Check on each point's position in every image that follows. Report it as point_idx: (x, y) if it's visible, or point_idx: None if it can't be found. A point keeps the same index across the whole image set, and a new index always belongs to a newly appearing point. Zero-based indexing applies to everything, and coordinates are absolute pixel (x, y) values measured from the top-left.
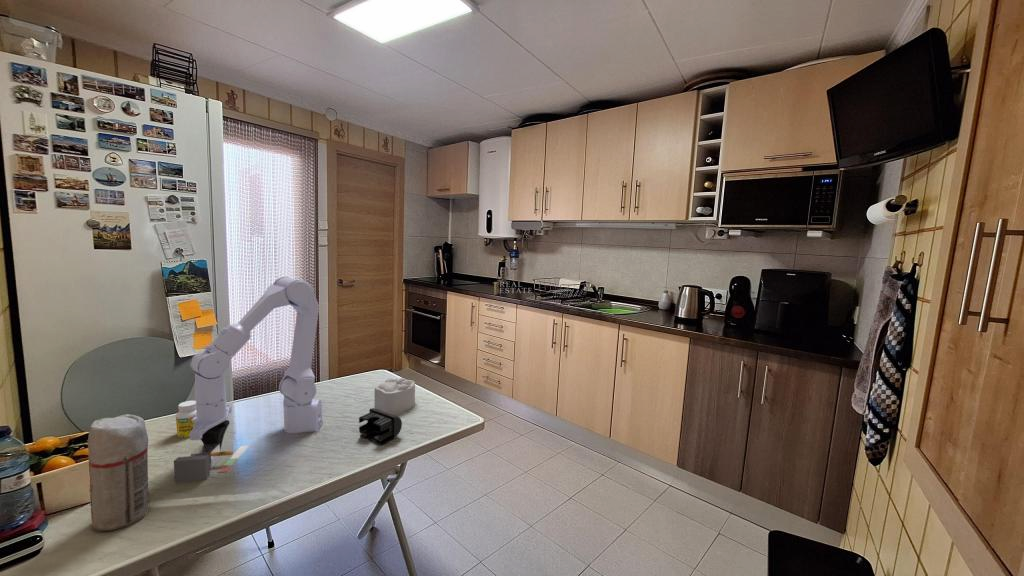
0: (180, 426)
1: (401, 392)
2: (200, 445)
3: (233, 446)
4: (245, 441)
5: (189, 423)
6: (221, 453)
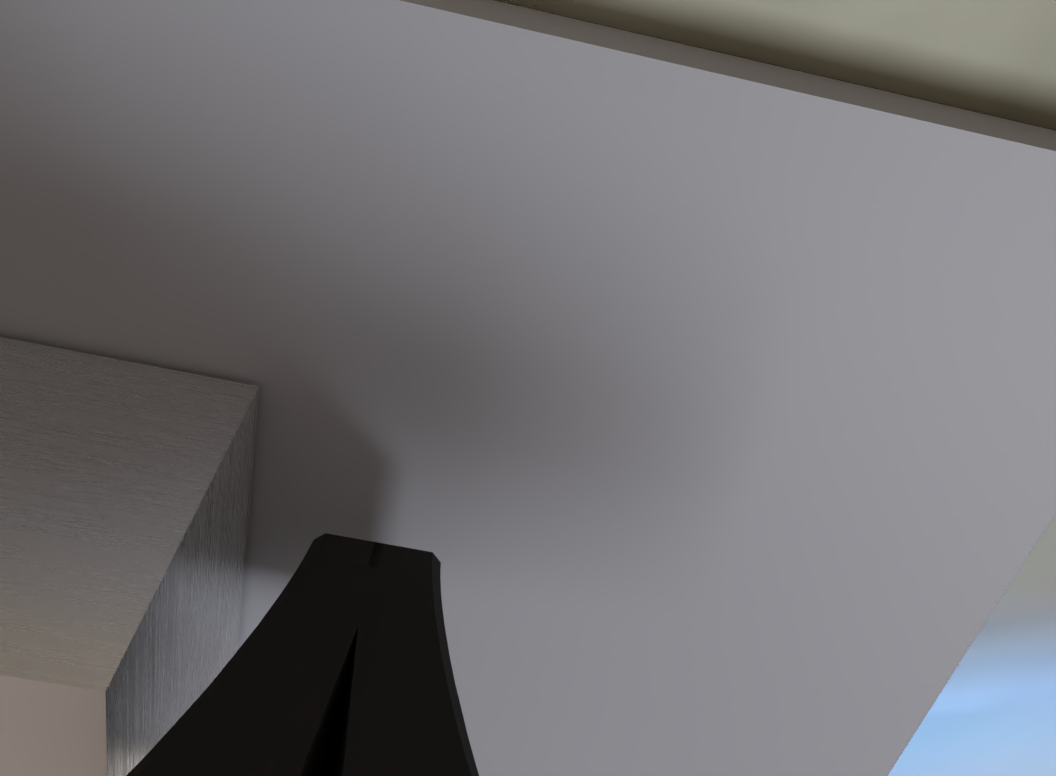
0: None
1: None
2: (60, 697)
3: None
4: (945, 764)
5: None
6: None
